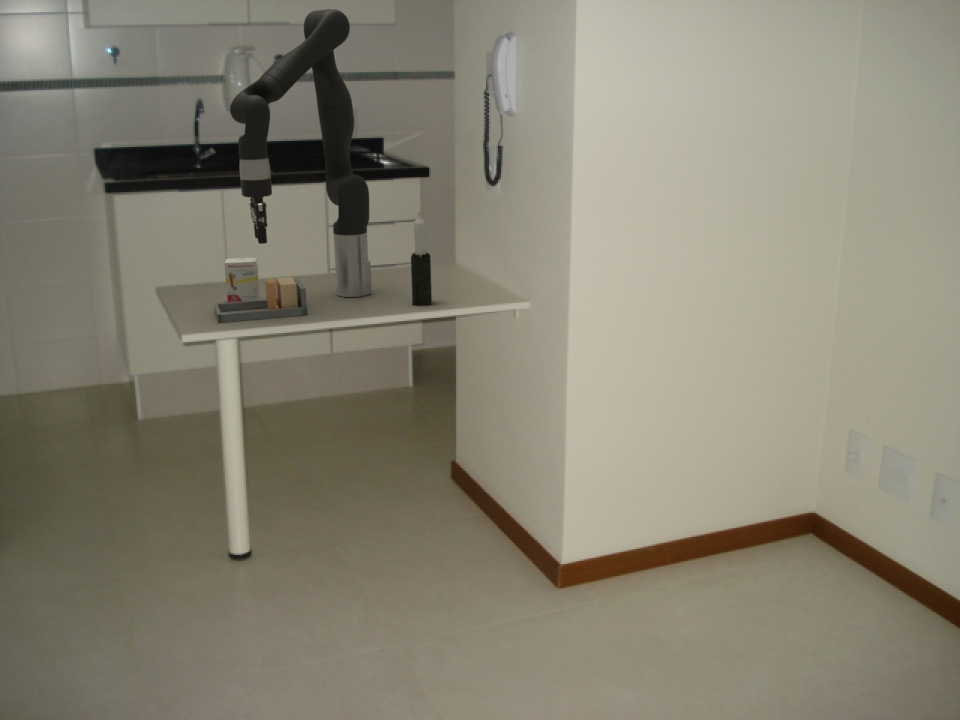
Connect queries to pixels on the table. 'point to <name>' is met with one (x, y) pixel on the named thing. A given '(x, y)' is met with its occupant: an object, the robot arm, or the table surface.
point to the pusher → (271, 294)
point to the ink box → (242, 279)
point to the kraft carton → (286, 293)
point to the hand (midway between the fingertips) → (261, 240)
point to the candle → (420, 266)
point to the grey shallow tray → (261, 304)
